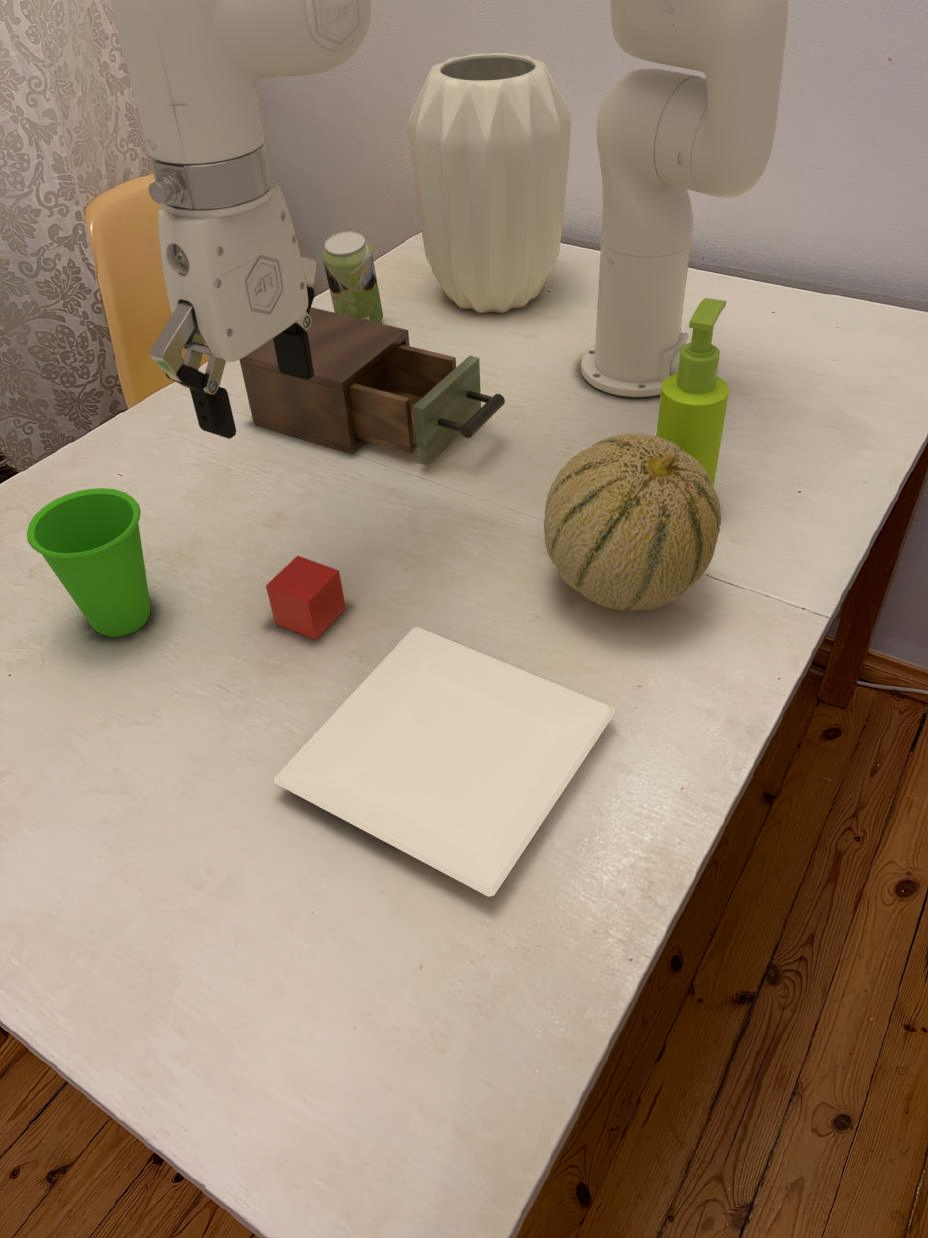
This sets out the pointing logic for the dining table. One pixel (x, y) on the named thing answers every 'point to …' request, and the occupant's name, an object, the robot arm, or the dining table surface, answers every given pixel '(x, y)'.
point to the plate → (449, 756)
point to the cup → (96, 556)
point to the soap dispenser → (696, 393)
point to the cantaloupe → (632, 522)
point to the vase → (490, 177)
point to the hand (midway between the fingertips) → (259, 402)
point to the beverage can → (352, 276)
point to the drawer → (419, 402)
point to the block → (306, 597)
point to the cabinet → (318, 379)
